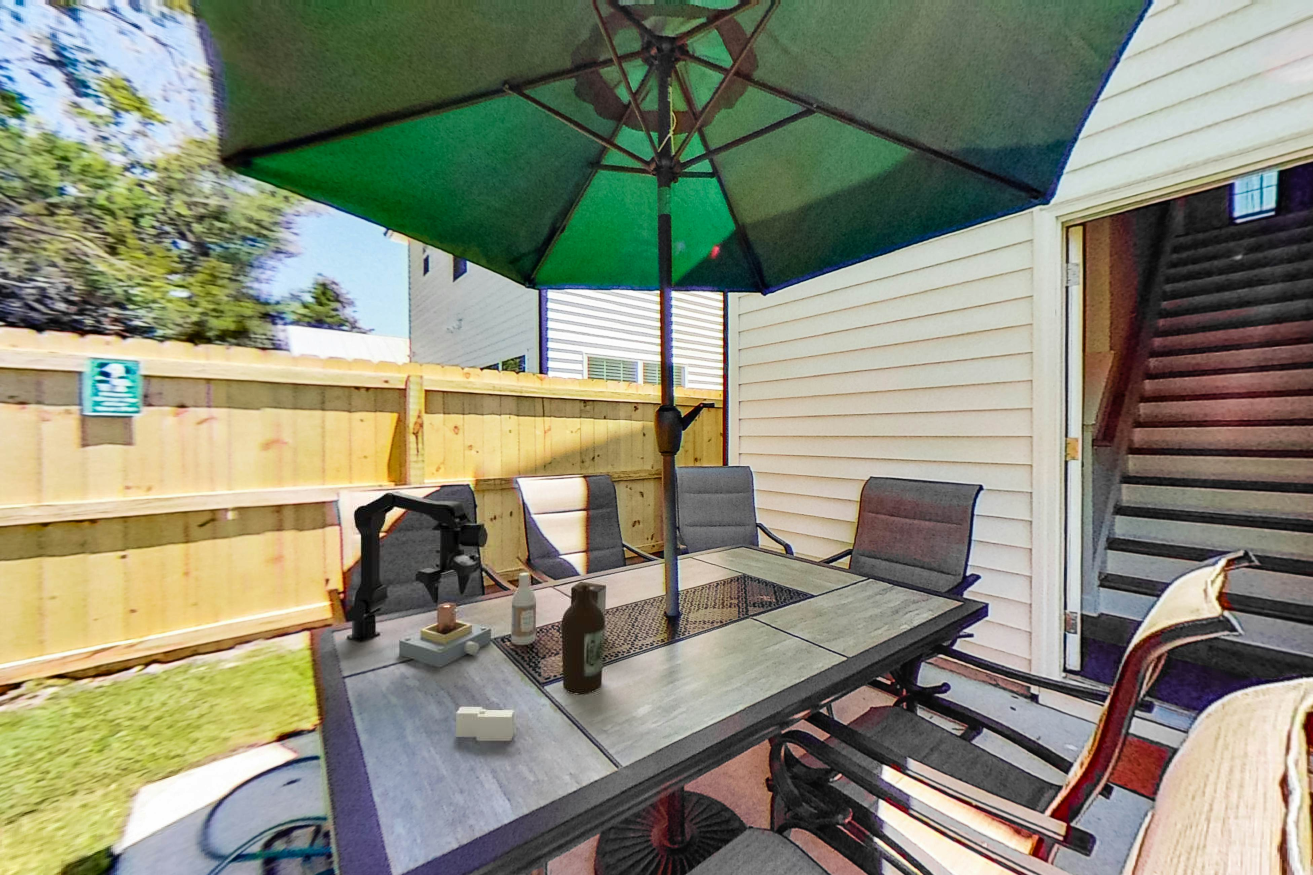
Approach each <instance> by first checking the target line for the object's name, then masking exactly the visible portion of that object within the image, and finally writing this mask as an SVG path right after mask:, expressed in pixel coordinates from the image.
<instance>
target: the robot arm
mask: <svg viewBox="0 0 1313 875" xmlns="http://www.w3.org/2000/svg"><path fill="white" fill-rule="evenodd" d="M394 508H396V509H397V508H398V509H402V510H406V511H410V512H413V513H418V514H422V515H425V516H428V517H430V518H431V519H432V520H433V521H436V522H437V524H436V525H435V526H433V527H432V528H431V531H438V532H439V538H438V540H439V541H438V542H439V548H436V549H435V550H436V551H435V552H436V554H439V555H438V562H437V563H436V564H435V567H436V568H438V569H436V568H431V567H427V568H422V569H419V570H417V572H416V573H415V577H414V578H415V582H419V583H420V584H423V586H424V587H425V588H426V590H427V592H428V595H429V596H430V598H431V600H432V602H433V604H438V603H439V602H438V601H439V586H440V585H441V584H442V582H443V581H442V580H441V579H442V576H443V575H446V574H450V573H453V572H455V573H456V574H457V575H456V576H457V584H458V590H459V594H460V595H464V594H465V591H466V589H467V587H468V584H469V581H470V578H471V577H472V575H473V574H476V572H478V569H481V564H482V563H481V562H482V561H481V560H480V555H478V554H477V553H474V554H471V555H466V554H465V550H464V548H461V546H462V547H465V548H466V547H467V548H469V547H470V548H484V547H485V546H486V544H487V541H488V536H489V534H488V532H487V529H486V527H485V523H482V522H480V523H479V522H478V523H472V520H471V519H470V517H469V516H468V514H467V513H466V512H465V508H464V506H463V504H462V503H461V502H459V501H452V500H450V501H449V500H441V501H439V500H438V501H437V500H432V499H427V498H423V497H421V496H420V497H419V496H415V495H410V494H407V493H404V492H403V493H402V492H400V491H399V490H397V491H396V490H395V491H390V492H386V493H384V494H383V495H381V496H380V497H378V498H376V499H374V500H373V501H370V502H368V504H364V505H360V506H358V507H357V508H356V509H355V510H354V513H353V520H354V525H355V526H354V527H355V529H357V531H358V533H359V534H360V583H359V585H358V588H357V590H356V591H355V594H354V599H353V605H352V606H351V607H350V608H349V609H348V610H347V611H346V612H345V613H344V617H345V620H346V621H348V622H349V621H350V622H351V634H349V635H346V639H349V640H352V641H355V642H359V643H361V642H364V641H367V640H368V639H369V640H370V639H371V638H374V637H377V636H379V635H381V632H380V631H377V627H376V626H377V621H376V614H377V613H379V612H381V610H382V607H383V606H384V605H385V604H386V601H387V599H388V598H389V597H388V585H387V584H385V585H383V583H382V582H381V579H380V574H381V573H380V567H381V566H380V565H381V564H380V557H381V556H380V554H381V553H380V550H381V549H380V548H381V547H380V546H381V544H380V543H381V542H380V541H381V540H380V539H381V537H380V535H381V531H382V530H383V528H384V525H385V522H386V517H387V514H389V512H391V511H392V510H394Z"/></svg>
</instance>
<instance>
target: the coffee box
mask: <svg viewBox="0 0 1313 875" xmlns="http://www.w3.org/2000/svg"><path fill="white" fill-rule="evenodd" d="M581 582H582V581H580V582H578V583H581ZM578 583H576V584H575V585H573V586H571V589H570V606H571V605H572V604H573V603H574V602H575V600H576V599H577V584H578ZM589 583H590V589H591V590H590V599H591V600H592V601H593V602H594V603H595V604H596V605H597V606H598V607H599V608H600V610H601V611H602V613H603V616H604V620H605V621H606V610H607V609H606V605H607V604H606V601H607V600H606V599H607V585H605V584H599V583H592V582H589ZM605 636H606V630H605V631H604V637H605ZM605 638H606V637H605Z"/></svg>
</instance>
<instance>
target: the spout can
mask: <svg viewBox="0 0 1313 875" xmlns="http://www.w3.org/2000/svg"><path fill="white" fill-rule="evenodd" d="M436 609H437V610H436V618H437V619H436V623H437V633H440V634H444V635H446V634H448V633H451V632H453V631H455V630H456V620H457V613H458V612H459V609H458V608H457V604H456V603H455V602H445V603H441V604H439V605H437V607H436Z"/></svg>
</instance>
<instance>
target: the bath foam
mask: <svg viewBox="0 0 1313 875" xmlns="http://www.w3.org/2000/svg"><path fill="white" fill-rule="evenodd" d="M518 575H519V576H518V587H517V589H516V590H515V592H514V594H513V596H512V599H511V633H510V634H511V636H510V638H511V643H512V644H513V645H517V646H528V645H530V644H532V643H534V642H535V640H536V636H537V635H536V634H537V633H536V632H537V630H536V629H537V627H536V626H537V598H536V594H535V592H534V590H533V589H532V588H531V586H530V573H529V572H521V573H519V574H518Z"/></svg>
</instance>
